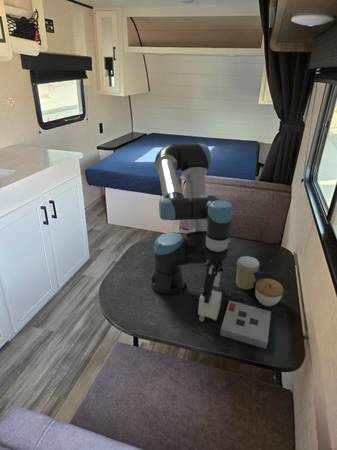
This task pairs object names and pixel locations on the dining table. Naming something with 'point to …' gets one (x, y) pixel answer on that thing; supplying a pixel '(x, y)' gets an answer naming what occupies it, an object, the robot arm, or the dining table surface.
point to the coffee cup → (246, 272)
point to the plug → (214, 306)
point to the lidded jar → (268, 291)
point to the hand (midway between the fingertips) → (211, 296)
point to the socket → (246, 324)
